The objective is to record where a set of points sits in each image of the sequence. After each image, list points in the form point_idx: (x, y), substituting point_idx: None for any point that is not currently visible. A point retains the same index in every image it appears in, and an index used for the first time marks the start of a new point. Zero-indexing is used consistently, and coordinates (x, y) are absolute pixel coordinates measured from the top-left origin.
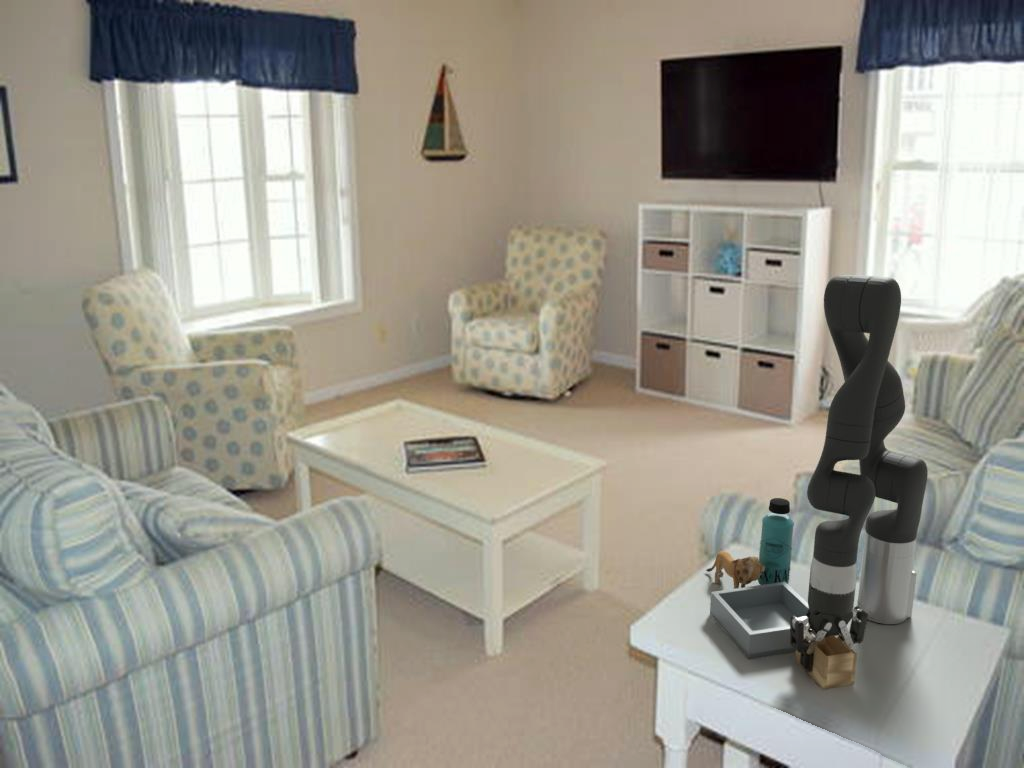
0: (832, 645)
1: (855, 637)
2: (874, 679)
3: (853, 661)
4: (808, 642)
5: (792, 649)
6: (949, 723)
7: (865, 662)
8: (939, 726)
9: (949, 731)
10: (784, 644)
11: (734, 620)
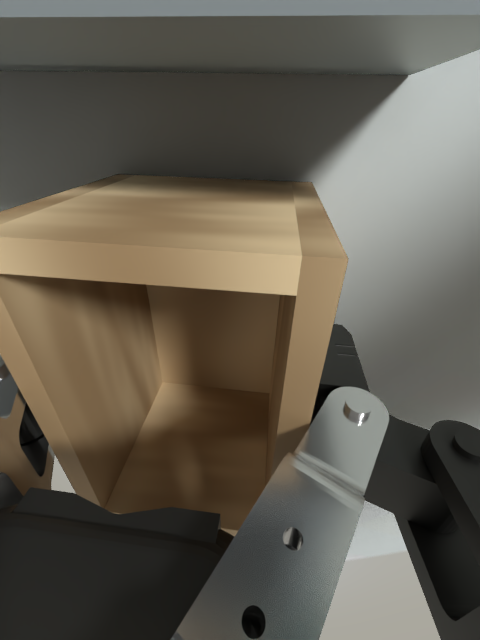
0: (281, 334)
1: (403, 516)
2: (379, 398)
3: None
4: (23, 403)
5: (119, 67)
6: (391, 542)
7: (465, 305)
8: (359, 539)
9: (364, 549)
10: (15, 60)
11: None
